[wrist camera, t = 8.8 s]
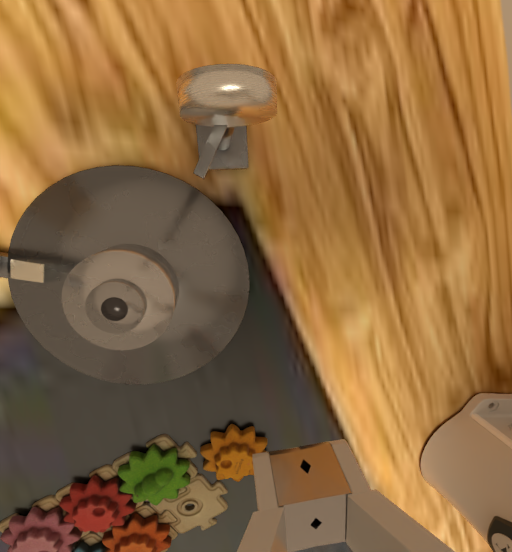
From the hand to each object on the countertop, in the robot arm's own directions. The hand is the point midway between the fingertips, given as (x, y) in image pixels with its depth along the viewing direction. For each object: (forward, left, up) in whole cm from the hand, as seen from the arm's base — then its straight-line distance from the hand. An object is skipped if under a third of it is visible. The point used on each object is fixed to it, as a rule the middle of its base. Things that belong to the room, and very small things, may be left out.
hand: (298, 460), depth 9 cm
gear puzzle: (+12, +26, -20) cm, 35 cm away
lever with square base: (+1, -12, -19) cm, 23 cm away
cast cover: (+10, -1, -18) cm, 20 cm away
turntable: (+11, -1, -19) cm, 22 cm away
